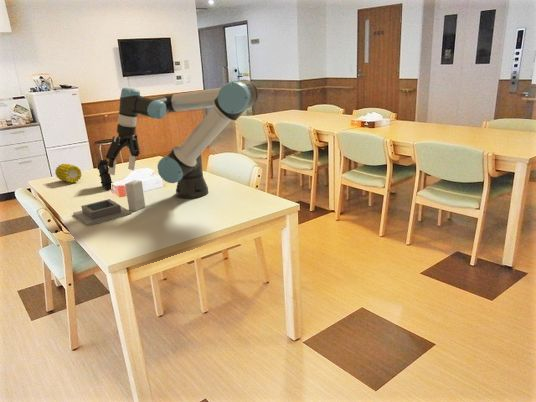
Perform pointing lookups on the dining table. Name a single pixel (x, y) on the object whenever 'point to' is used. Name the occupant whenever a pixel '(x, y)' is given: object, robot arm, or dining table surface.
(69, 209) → the dining table surface
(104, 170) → the black knobby slab
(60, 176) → the food
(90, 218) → the dock
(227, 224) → the dining table surface
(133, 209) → the skincare box
